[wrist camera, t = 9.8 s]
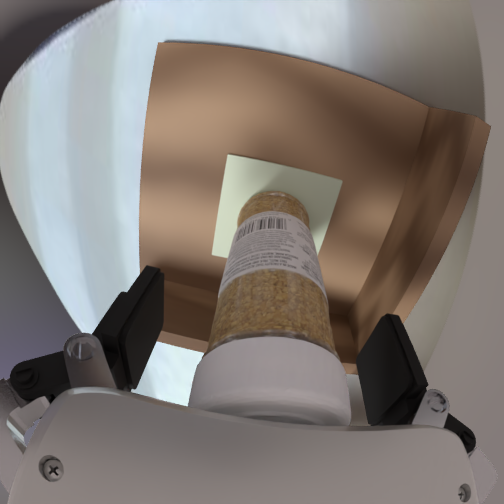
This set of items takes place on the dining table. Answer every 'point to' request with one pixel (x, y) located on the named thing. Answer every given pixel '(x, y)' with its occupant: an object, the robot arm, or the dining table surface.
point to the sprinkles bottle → (273, 325)
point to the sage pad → (272, 179)
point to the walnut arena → (306, 158)
